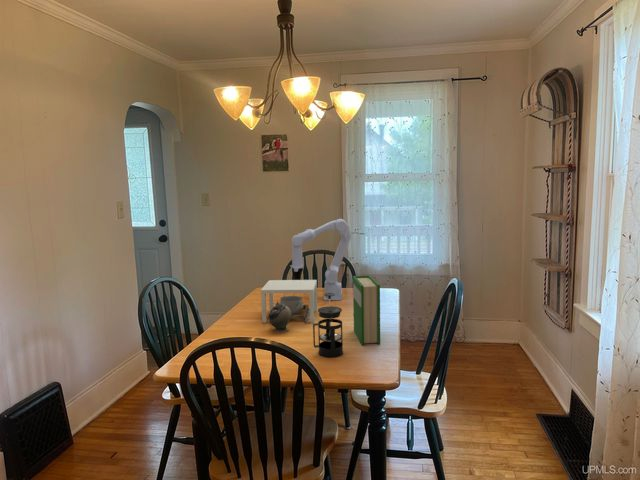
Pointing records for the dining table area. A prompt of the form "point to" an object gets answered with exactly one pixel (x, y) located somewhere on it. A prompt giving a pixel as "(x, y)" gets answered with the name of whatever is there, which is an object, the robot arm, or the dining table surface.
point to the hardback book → (366, 309)
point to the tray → (300, 317)
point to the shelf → (290, 287)
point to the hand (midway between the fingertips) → (298, 281)
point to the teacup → (292, 303)
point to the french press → (329, 331)
